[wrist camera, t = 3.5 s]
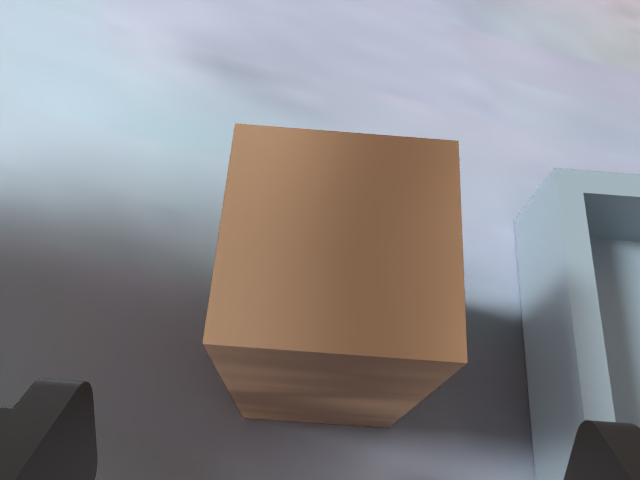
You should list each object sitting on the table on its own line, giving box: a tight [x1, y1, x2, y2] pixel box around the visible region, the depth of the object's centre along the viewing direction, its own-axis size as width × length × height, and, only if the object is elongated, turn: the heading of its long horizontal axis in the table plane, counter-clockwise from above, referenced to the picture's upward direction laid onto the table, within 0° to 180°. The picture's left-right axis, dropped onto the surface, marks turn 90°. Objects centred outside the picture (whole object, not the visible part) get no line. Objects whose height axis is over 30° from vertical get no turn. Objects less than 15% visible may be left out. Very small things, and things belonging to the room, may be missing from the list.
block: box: [202, 124, 468, 428], centre depth 15 cm, size 4×4×9 cm
